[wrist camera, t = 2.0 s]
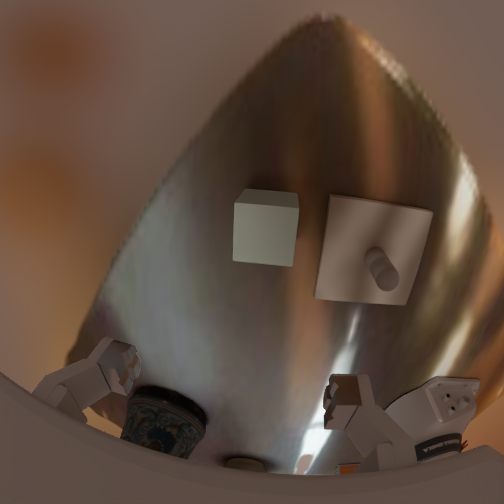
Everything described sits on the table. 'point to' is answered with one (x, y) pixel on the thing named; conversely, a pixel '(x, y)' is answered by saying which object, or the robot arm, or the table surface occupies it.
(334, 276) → the post stand
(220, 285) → the table surface
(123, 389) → the robot arm
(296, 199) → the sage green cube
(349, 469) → the skincare box
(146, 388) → the beer stein
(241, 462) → the planter bowl
